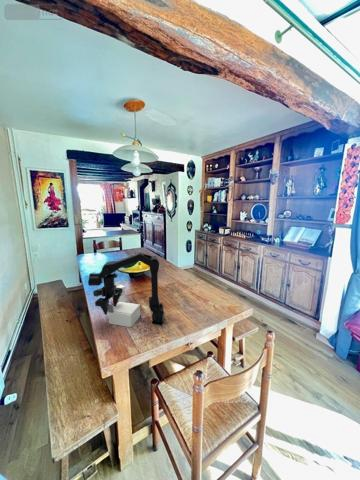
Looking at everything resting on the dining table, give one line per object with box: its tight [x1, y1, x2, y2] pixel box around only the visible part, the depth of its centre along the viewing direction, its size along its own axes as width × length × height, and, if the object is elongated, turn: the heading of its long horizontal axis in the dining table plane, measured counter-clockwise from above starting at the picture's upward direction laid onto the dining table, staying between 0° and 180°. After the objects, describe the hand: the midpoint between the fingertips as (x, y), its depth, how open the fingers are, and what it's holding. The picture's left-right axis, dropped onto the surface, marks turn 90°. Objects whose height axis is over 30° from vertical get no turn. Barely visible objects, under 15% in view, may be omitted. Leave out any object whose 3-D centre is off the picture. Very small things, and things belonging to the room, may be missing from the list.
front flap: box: [107, 304, 132, 328], centre depth 115 cm, size 14×1×12 cm, turn 76°
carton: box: [113, 301, 141, 328], centre depth 122 cm, size 14×11×8 cm
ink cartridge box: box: [110, 280, 126, 306], centre depth 141 cm, size 9×5×15 cm, turn 141°
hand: (110, 310), depth 116 cm, fingers open, 9 cm apart
